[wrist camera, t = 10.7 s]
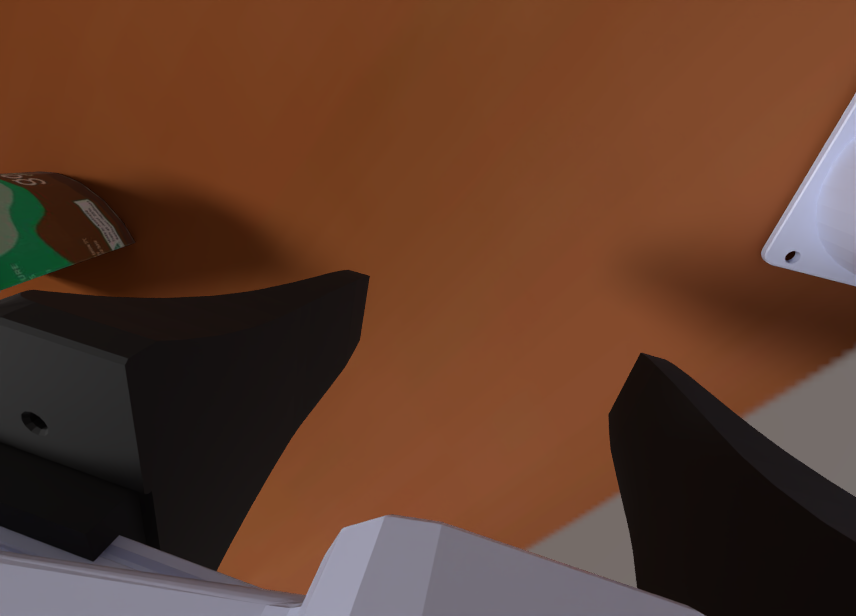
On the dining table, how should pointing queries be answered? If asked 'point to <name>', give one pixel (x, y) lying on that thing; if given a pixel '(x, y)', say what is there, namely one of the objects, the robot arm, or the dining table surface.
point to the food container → (52, 225)
